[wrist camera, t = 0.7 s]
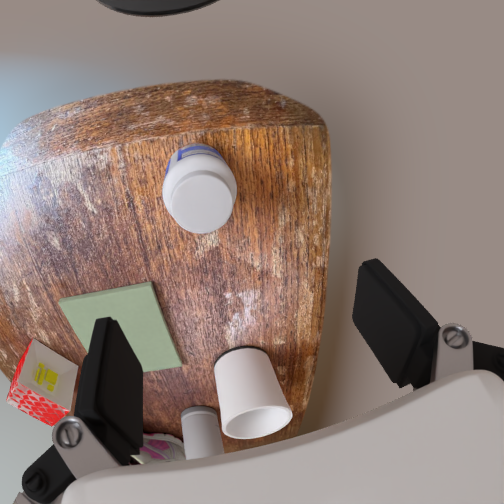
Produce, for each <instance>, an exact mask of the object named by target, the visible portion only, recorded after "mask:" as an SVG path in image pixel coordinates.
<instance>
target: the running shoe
mask: <svg viewBox="0 0 504 504" xmlns="http://www.w3.org/2000/svg"><path fill="white" fill-rule="evenodd" d="M181 460H186V456H185V448H184V443H182V441H181V440H180V439H178V438H176V437H175V438H174V436H173V435H170V434H165V435H164V434H163V433H151V434H146V433H143V447H142V448H140V455H130V462H129V463H130V464H131V465H140V464H153V463H163V462H173V461H181Z"/></svg>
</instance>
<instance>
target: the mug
mask: <svg viewBox="0 0 504 504" xmlns="http://www.w3.org/2000/svg"><path fill="white" fill-rule="evenodd" d="M214 372H215V379H216V385H217V392H218V398H219V404H220V410H221V421H222V431H223V432H224V434H226V435H227V436H229V437H232V438H237V439H252V438H258V437H262V436H266V435H269V434H271V433H274V432H276V431H278V430H280V429H282V428H283V427H284V426H286V425H287V424H288V423H289V422H290V420H291V418H292V411H291V409H290V407H289V405H288V403H287V401H286V399H285V397H284V395H283V393H282V390H281V388H280V385H279V382H278V380H277V377H276V375H275V372H274V370H273V367H272V364H271V362H270V359H269V357H268V355H267V354H266V352H265V351H263V350H261V349H260V348H257V347H254V346H241V347H236V348H233V349H230V350H228V351H226V352H224V353H223V354H222V355H220V356H219V358H218V359H217V360H216V362H215V365H214Z"/></svg>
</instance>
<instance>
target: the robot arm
mask: <svg viewBox="0 0 504 504" xmlns="http://www.w3.org/2000/svg"><path fill="white" fill-rule="evenodd" d="M352 318H353V322H354V324H355V326H356V327H357V329H358V330H359V332H360V333H361V335H362V336H363V338H364V339H365V341H366V342H367V344H368V345H369V347H370V348H371V350H372V351H373V353H374V354H375V356H376V358H377V359H378V361H379V362H380V364H381V365H382V367H383V368H384V370H385V372H386V373H387V374H388V376H389V378H390V379H391V381H392V382H393V383H397V385H398V386H399V388H402V387H404V386H406V385H408V384H410V383H411V384H412V386H413V392H411V393H409V394H407V395H405V396H403V397H401V398H398V399H396V400H394V401H392V402H389V403H387V404H385V405H383V406H380V407H378V408H376V409H374V410H371V411H369V412H366V413H364V414H362V415H359V416H356V417H354V418H351V419H349V420H346V421H343V422H341V423H337V424H335V425H332V426H329V427H326V428H323V429H320V430H317V431H314V432H311V433H308V434H304V435H301V436H298V437H294V438H291V439H287V440H284V441H280V442H276V443H272V444H268V445H264V446H260V447H256V448H251V449H247V450H242V451H237V452H232V453H227V454H221V455H216V456H210V457H203V458H196V459H189V460H181V461H173V462H163V463H153V464H140V465H131V464H130V463H129V462H130V455H140V448H142V447H143V369H142V365H141V363H140V362H139V360H138V358H137V356H136V355H135V353H134V351H133V349H132V347H131V346H130V344H129V342H128V340H127V338H126V336H125V334H124V332H123V331H122V329H121V327H120V325H119V323H118V321H117V320H113V319H112V318H111V317H104V318H98V319H96V321H95V324H94V328H93V332H92V337H91V341H90V345H89V350H88V355H86V356H85V358H84V360H83V365H82V370H81V375H80V381H79V386H78V392H77V398H76V405H75V412H74V416H68V417H64V418H62V419H61V420H59V421H58V422H57V423H56V425H55V427H54V429H53V432H52V441H53V443H54V444H53V445H52V446H51V447H50V448H49V449H48V450H47V451H46V452H45V453H44V454H43V455H42V456H41V457H39V458H38V459H37V460H36V461H35V462H34V463H33V464H32V465H31V466H30V467H29V468H28V469H27V470H26V471H25V472H24V474H23V477H22V487H23V490H24V491H23V493H20V492H19V493H18V495H17V497H16V499H15V501H14V503H13V504H504V348H501V347H496V346H492V345H487V344H483V343H479V342H475V341H472V337H471V335H470V333H469V331H468V330H467V329H466V328H465V327H463V326H461V325H459V324H455V323H449V324H445V325H444V326H442V327H440V326H439V325H438V322H437V321H436V320H435V319H434V318H433V317H432V315H431V314H430V313H429V312H428V311H427V310H426V309H425V308H424V307H423V306H422V304H421V303H420V302H419V301H418V300H417V299H416V298H415V297H414V296H413V295H412V294H411V293H410V291H409V290H408V289H407V288H406V287H405V286H404V285H403V284H402V283H401V282H400V281H399V280H398V279H397V278H396V277H395V276H394V275H393V274H392V273H391V272H390V271H389V270H388V269H387V268H386V266H385V265H384V264H383V263H382V262H381V261H380V260H378V259H376V258H375V259H371V260H368V261H364V262H363V263H362V266H360V267H359V270H358V279H357V287H356V294H355V301H354V308H353V314H352Z"/></svg>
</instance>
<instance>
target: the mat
mask: <svg viewBox="0 0 504 504" xmlns="http://www.w3.org/2000/svg"><path fill="white" fill-rule="evenodd" d="M59 305H60V307H61V308H62V310H63V312H64V314H65V316H66V317H67V319H68V321H69V323H70V324H71V326H72V328H73V330H74V331H75V333H76V335H77V336H78V338H79V340H80V341H81V343H82V344H83V346H84V348H85V349H86V351H87V352H88V350H89V345H90V341H91V337H92V332H93V328H94V324H95V321H96V319H98V318H104V317H111V318H112V319H113V320H117V321H118V323H119V325H120V327H121V329H122V331H123V332H124V334H125V336H126V338H127V340H128V342H129V344H130V346H131V347H132V349H133V351H134V353H135V355H136V356H137V358H138V360H139V362H140V363H141V365H142V369H143V372H148V371H155V370H161V369H168V368H174V367H180V366H182V361H181V359H180V357H179V354H178V352H177V349H176V347H175V344H174V342H173V339H172V337H171V334H170V332H169V329H168V326H167V324H166V321H165V319H164V316H163V313H162V311H161V308H160V305H159V302H158V299H157V297H156V294H155V291H154V288H153V285H152V282H145V283H140V284H135V285H130V286H125V287H119V288H114V289H109V290H104V291H98V292H93V293H88V294H82V295H77V296H72V297H66V298H61V299H60V300H59Z"/></svg>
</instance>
